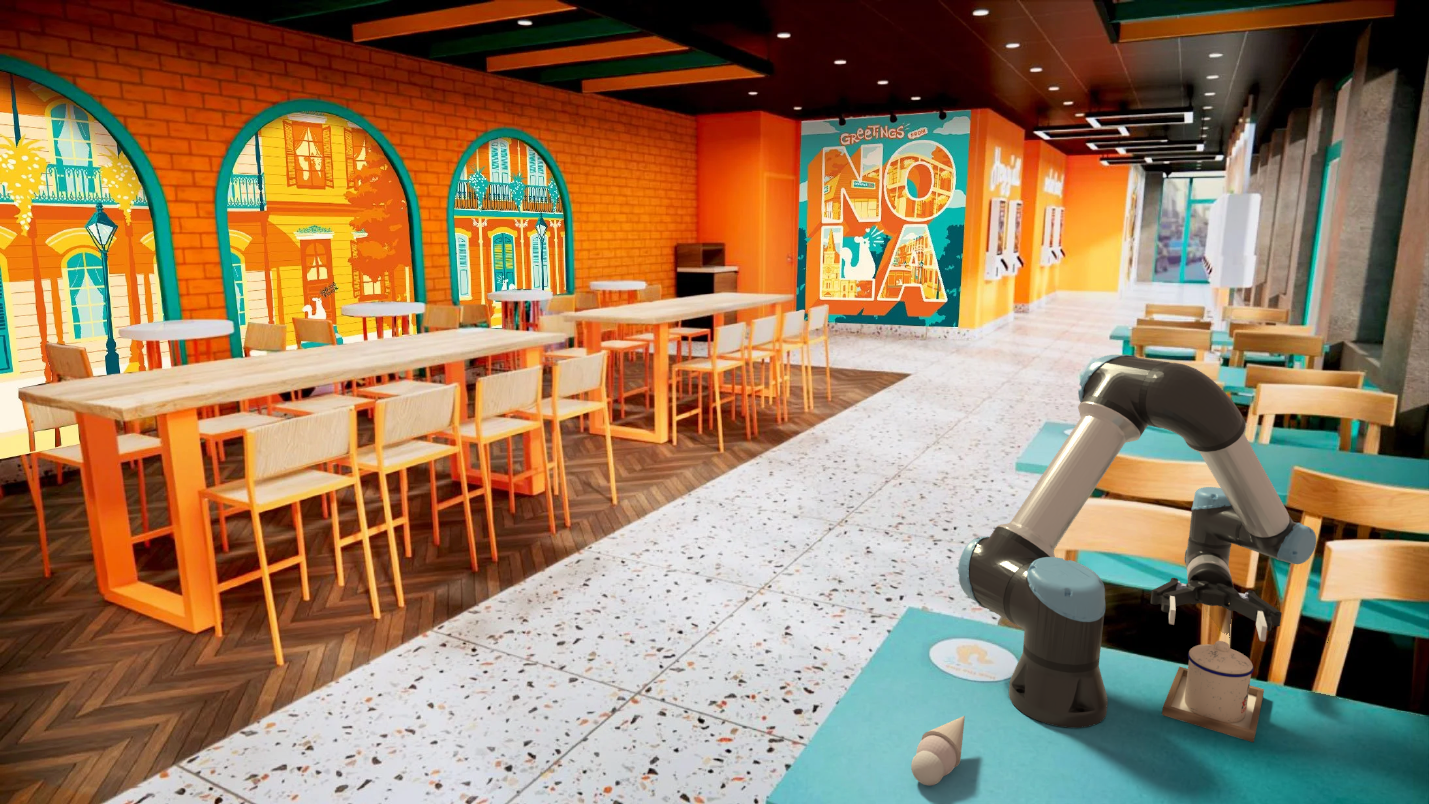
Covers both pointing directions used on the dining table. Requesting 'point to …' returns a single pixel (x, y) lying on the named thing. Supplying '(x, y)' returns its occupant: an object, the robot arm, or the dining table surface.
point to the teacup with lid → (1218, 682)
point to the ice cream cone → (938, 752)
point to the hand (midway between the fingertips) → (1217, 625)
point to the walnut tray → (1240, 729)
